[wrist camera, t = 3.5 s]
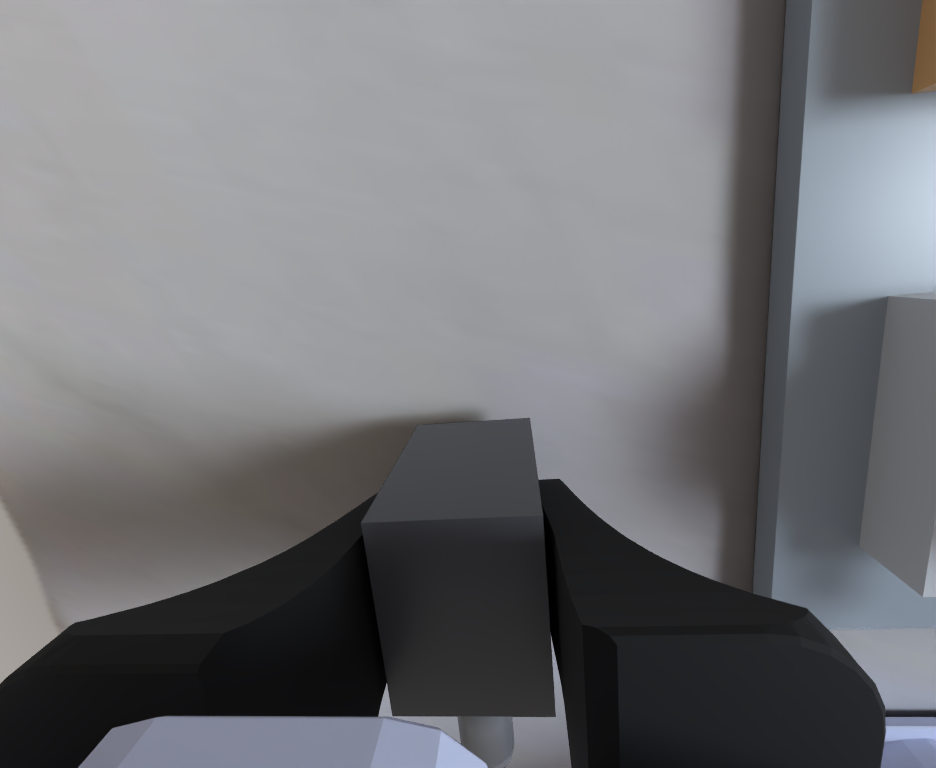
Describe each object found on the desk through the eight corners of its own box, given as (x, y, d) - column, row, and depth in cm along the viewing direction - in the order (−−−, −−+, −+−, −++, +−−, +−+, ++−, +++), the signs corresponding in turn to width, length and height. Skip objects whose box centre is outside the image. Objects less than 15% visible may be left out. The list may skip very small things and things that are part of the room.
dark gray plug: (544, 641, 14) (563, 840, 9) (445, 642, 14) (412, 835, 9) (529, 418, 12) (542, 515, 7) (417, 425, 13) (360, 522, 8)
